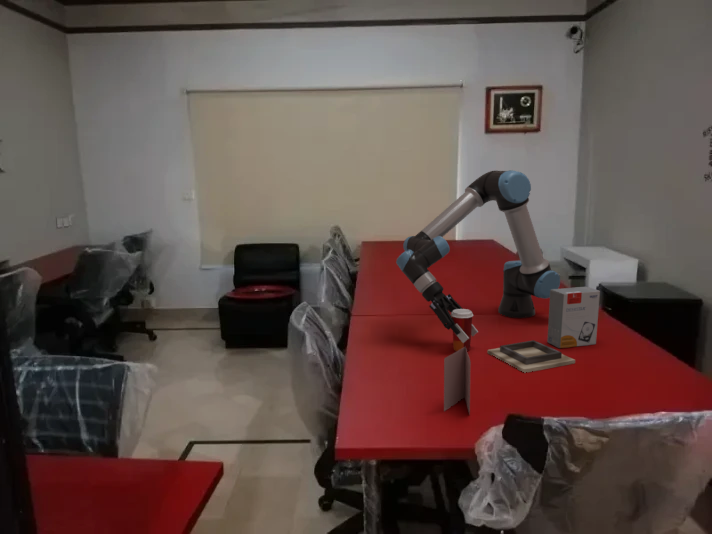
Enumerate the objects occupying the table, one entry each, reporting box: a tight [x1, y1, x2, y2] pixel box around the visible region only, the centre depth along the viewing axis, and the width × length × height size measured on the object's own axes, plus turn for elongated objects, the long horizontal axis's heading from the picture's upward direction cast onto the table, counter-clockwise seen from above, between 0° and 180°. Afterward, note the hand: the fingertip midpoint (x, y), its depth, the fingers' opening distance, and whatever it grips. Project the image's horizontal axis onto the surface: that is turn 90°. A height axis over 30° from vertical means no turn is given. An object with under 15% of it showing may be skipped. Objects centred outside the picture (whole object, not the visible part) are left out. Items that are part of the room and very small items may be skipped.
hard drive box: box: [546, 286, 601, 349], centre depth 198 cm, size 16×8×20 cm, turn 105°
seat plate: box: [487, 339, 576, 374], centre depth 186 cm, size 20×20×3 cm
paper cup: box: [450, 308, 474, 352], centre depth 195 cm, size 8×8×14 cm
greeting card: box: [443, 347, 471, 416], centre depth 150 cm, size 11×7×15 cm, turn 141°
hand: (470, 337), depth 193 cm, fingers closed on paper cup, 8 cm apart
